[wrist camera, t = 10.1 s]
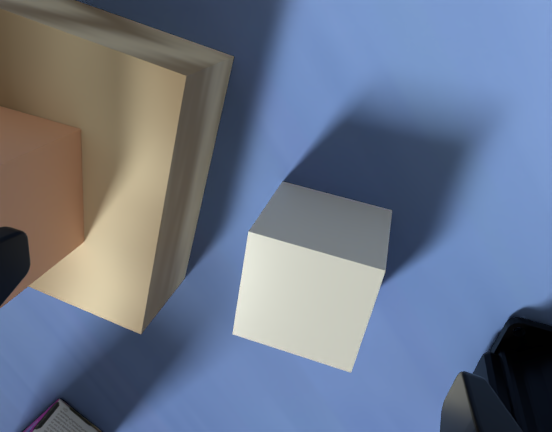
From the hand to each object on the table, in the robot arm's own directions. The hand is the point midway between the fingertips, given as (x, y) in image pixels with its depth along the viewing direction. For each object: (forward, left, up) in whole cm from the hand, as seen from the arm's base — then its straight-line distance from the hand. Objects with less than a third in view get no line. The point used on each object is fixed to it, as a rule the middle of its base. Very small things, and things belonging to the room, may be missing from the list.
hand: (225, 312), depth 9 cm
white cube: (-1, +5, -12) cm, 13 cm away
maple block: (+11, +3, -12) cm, 17 cm away
